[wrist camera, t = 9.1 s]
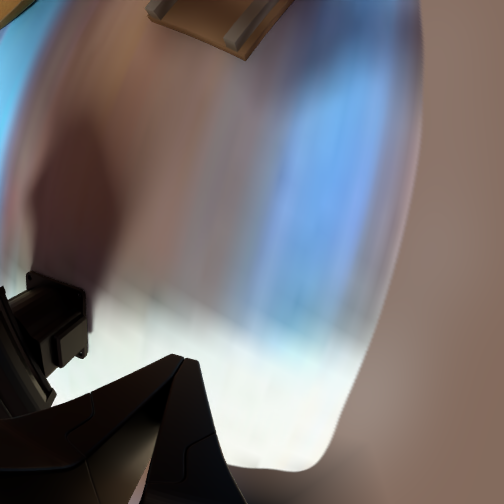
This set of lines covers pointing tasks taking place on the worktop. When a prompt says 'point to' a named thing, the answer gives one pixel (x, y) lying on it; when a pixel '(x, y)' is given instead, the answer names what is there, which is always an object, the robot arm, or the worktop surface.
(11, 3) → the plant saucer
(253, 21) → the press track
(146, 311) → the worktop surface
